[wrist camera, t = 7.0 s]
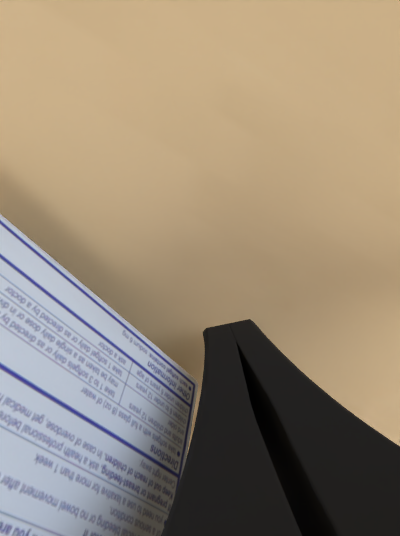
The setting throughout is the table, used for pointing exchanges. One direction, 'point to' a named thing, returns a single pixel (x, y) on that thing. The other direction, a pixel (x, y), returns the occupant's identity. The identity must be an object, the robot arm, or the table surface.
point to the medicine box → (82, 407)
